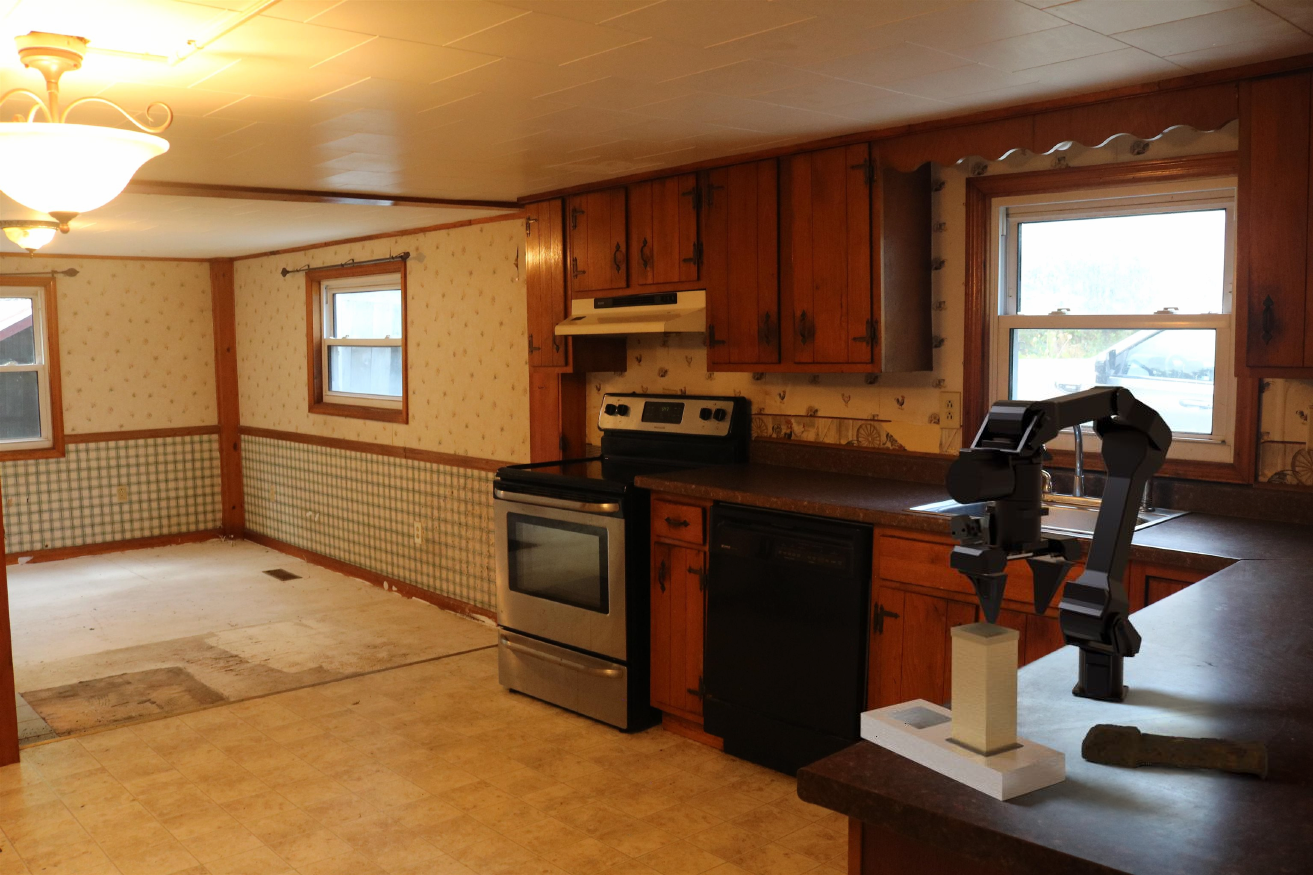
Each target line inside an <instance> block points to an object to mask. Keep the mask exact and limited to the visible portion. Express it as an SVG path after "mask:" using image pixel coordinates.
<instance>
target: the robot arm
mask: <svg viewBox="0 0 1313 875" xmlns="http://www.w3.org/2000/svg"><path fill="white" fill-rule="evenodd" d="M1090 422H1092V431H1093V432H1094V434H1096V436H1097V437H1098V438H1099V439H1100V441H1101V447H1100V448H1101V449H1100V454H1101V457H1102V460H1103V463H1104V466H1105V469H1106V472H1107V476H1106V480H1105V484H1104V488H1103V493H1102V496H1101V502H1100V506H1099V510H1098V513H1097V517H1096V520H1095V521H1096V522H1095V526H1094V530H1093V535H1092V539H1091V542H1090V546H1089V551H1088V554H1087V559H1086V563H1085V567H1084V571H1083V572H1082V574H1081V575H1080V576H1079V577H1078V578H1076V579H1075V581H1073V580H1066V581H1065V584H1064V585H1063V591H1062V596H1061V600H1060V602H1059V604H1058V606H1057V609H1059V611H1058V623H1059V626H1060V630H1061V634H1062V639H1063V643H1064V645H1065V646H1072V647H1075V648H1076V647H1077V648H1078V675H1077V676H1078V681H1077V682H1076V684H1074V687H1073V688H1072V689H1071V694H1072V695H1074V696H1079V697H1086V698H1094V699H1100V700H1105V701H1106V700H1108V701H1114V702H1119V703H1121V702H1124V701H1125V699H1126V697H1127V695H1128V692H1129V690H1130V686H1129V685H1125V684H1124V671H1125V670H1124V666H1125V665H1124V664H1125V662H1124V660H1125V658H1135V657H1136V654H1139V653H1140V650H1141V644H1142V640H1143V637H1142V635H1140V633H1139V632H1138V630H1137V629H1136V628H1135V626H1134V625H1133V624H1132V622H1131V621H1130V619H1129V615H1130V609H1131V604H1130V601H1129V598H1128V595H1127V591H1126V589H1125V587H1124V585H1123V580H1124V577H1125V574H1126V573H1125V572H1126V567H1127V564H1128V560H1129V555H1130V551H1131V548H1132V547H1131V546H1132V544H1133V539H1134V536H1135V530H1136V526H1137V521H1138V518H1139V514H1140V509H1141V505H1142V500H1143V496H1144V493H1145V492H1144V491H1145V488H1146V484H1147V482H1148V481H1149V480H1150V479H1151V478H1152V477H1153V476H1154V475H1155V474H1156V473H1157V472H1158V471H1159V470H1160V469H1161V468H1162V467H1163V466H1164V464H1165V460H1166V458H1167V454H1168V451H1169V450H1170V447H1171V445H1172V442H1173V431H1172V429H1171V428H1170V426H1169V425H1168V424H1167V422H1166V421H1165V420H1164V418H1163V416H1161V414H1160V413H1159V411H1157V410H1156V409H1154V408H1153V407H1151V406H1149V405H1147V404H1145V403H1144V402H1142V401H1141V400H1140V399H1139V398H1136V397H1135V396H1134V394H1133V393H1132V392H1131V390H1130V389H1128V388H1125V387H1123V386H1122V385H1117V386H1116V385H1095V386H1093V387H1090V388H1088V389H1085V390H1081V391H1077V392H1071V393H1069V394H1064V395H1059V396H1055V397H1051V398H1050V397H1049V398H1047V399H1043V400H1025V399H1023V400H1020V399H1018V400H1017V399H999V400H998V399H997V400H995V401H994V402H993V403H992V404H991V405H990V410H989V411H988V413H987V415H986V417H985V418H984V421H983V423H982V424H981V427H979V428H980V429H979V431H978V432H977V434H976V436H975V438H974V440H973V442H972V444H971V446H970V448H959V450H958V458H957V459H955V460H953V462H952V463H951V464H950V465H949V468H948V469H947V473H946V474H945V480H944V481H945V487H946V490H947V492H948V494H949V496H950V498H951V499H952V500H954V501H955V502H956V503H958V504H960V505H964V506H965V505H966V506H967V505H975V504H983V503H991V502H992V503H993V504H987V505H986V508H985V509H984V516H983V517H979V518H973V519H972V518H971V516H970V515H969V514H968V513H964V514H958V515H957V514H956V515H954V516H951V517H950V525H949V531H950V536H951V538H952V540H954V541H956V542H957V541H959V542H960V544H958V545H955V546H953V548H952V549H951V550H950V551H949V568H950V569H951V568H952V569H956V571H957V572H958V574H960V575H964V576H965V577H966V578H967V579H968V581H970V582H971V584H972V586H973V588H974V590H975V593H976V595H977V598H978V600H979V604H980V608H981V610H982V613H983V616H984V619H985V622H987V623H991V624H995V625H997V624H996V623H997V620H998V619H999V618H998V617H999V614H1000V611H1001V607H1002V602H1003V597H1004V594H1005V589H1006V585H1007V581H1008V576H1009V574H1008V573H1004V571H1005V569H1006V568H1007V567H1008V562H1014V561H1018V560H1019V561H1020V560H1025V562H1026V563H1027V565H1028V567H1029V568H1030V569H1031V571H1032V582H1033V583H1032V586H1033V603H1034V604H1033V605H1034V610H1035V611H1034V612H1035V614H1036V615H1039V616H1043V615H1045V614H1046V612H1047V610H1048V608H1049V606H1050V605H1051V603H1052V600H1053V599H1054V597H1055V596H1056V593H1057V592H1058V590H1059V588H1060V586H1061V585H1062V584H1063V581H1064V580H1065V579H1066V577H1067V575H1068V574H1069V572H1070V571H1071V569H1072V568H1074V567H1076V562H1075V561H1079V560H1083V544H1082V543H1081V541H1080V540H1079V539H1078V538H1077V537H1075V536H1070V535H1063V534H1057V533H1051V532H1045V533H1042V517H1045V516H1046V517H1047V516H1050V507H1048V506H1042V505H1043V504H1042V503H1043V500H1042V498H1043V463H1048V462H1053V461H1054V456H1053V455H1052V454H1051V453H1050V452H1049V451H1047V449H1045V448H1044V446H1043V445H1046V444H1047V443H1049V442H1051V441H1053V440H1054V439H1056V438H1058V436H1059V434H1060V431H1062V430H1064V429H1067V428H1071V427H1075V426H1079V425H1083V424H1086V423H1090Z"/></svg>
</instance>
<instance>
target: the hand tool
mask: <svg viewBox="0 0 1313 875" xmlns="http://www.w3.org/2000/svg"><path fill="white" fill-rule="evenodd" d="M1080 749H1081V750H1080V753H1081V755H1080V756H1081V758H1082V759H1084V760H1086V761H1088V762H1089V761H1090V762H1092V763H1098V764H1102V765H1108V766H1109V765H1110V766H1116V767H1124V768H1129V769H1130V768H1131V769H1136V768H1138V767H1139V766H1142V765H1143V766H1144V765H1153V766H1166V767H1177V768H1178V767H1181V768H1182V767H1183V768H1192V769H1201V770H1209V771H1210V770H1211V771H1212V770H1213V771H1223V772H1229V773H1236V774H1240V773H1241V774H1242V773H1247V774H1255V775H1257V776H1258V778H1260V779H1263V780H1265V779H1266V776H1267V775H1268V765H1269V764H1268V763H1269V762H1268V760H1269V759H1268V758H1269V756H1268V749H1267V746H1266V745H1265V744H1264V741H1263V740H1261V739H1258V738H1255V739H1249V740H1233V739H1229V738H1228V739H1227V738H1216V737H1188V736H1174V735H1163V734H1155V733H1147V732H1141V730H1140V729H1139V728H1138V726H1135V725H1134V726H1133V725H1119V724H1112V723H1104V724H1103V723H1097V724H1095V725H1093V726H1091V727H1090V728H1089V730H1088V732H1087V733H1086V735H1085V736H1084V739H1082V741H1081V748H1080Z"/></svg>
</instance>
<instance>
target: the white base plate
mask: <svg viewBox="0 0 1313 875" xmlns="http://www.w3.org/2000/svg"><path fill="white" fill-rule="evenodd" d="M951 717H952V709H948V708H946V707H944V706H941V705H938V704H936V703H933V702H930V701H927V700H925V699H922V698H917V699H913V700H909V701H905V702H902V703H898V704H893V705H889V706H884V707H881V708H877V709H873V710H872V709H871V710H868V711H864V712H861V713H860V737H861V738H863V739H865V740H867V741H869V742H872V743H874V744H876V745H879V746H880V747H882V748H885V749H887V750H890V751H892V752H893V753H896V754H898V755H900V756H902V757H904V758H907V759H909V760H911V761H914V762H916V763H918V764H919V765H922V766H924V767H926V768H929V769H931V770H933V771H935V772H938V773H940V774H941V775H944V776H946V777H948V778H950V779H953V780H955V781H958V782H960V783H961V784H963V785H966V786H968V787H970V788H973V789H974V790H977V791H979V792H981V793H983V794H986V795H988V796H990V797H993V798H994V799H997V800H999V801H1001V802H1003V801H1006V800H1010V799H1012V798H1016V797H1019V796H1022V795H1025V794H1028V793H1030V792H1031V793H1032V792H1034V791H1037V790H1039V789H1043V788H1046V787H1049V786H1052V785H1055V784H1059V783H1062V782H1064V781H1066V753H1065V752H1061V751H1059V750H1056V749H1054V748H1052V747H1048V746H1046V745H1043V744H1041V743H1038V742H1035V741H1033V740H1030V739H1027V738H1024V737H1023V736H1019V735H1017V745H1014V746H1010V747H1007V748H1003V749H1000V750H997V751H993V752H990V753H986V754H985V753H983V752H980V751H978V750H975V749H973V748H970V747H968V746H966V745H963V744H961V743H958V742H956V741H953V740H951ZM905 723H906V724H905ZM876 736H877V737H876Z"/></svg>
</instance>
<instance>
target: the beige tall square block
mask: <svg viewBox="0 0 1313 875" xmlns="http://www.w3.org/2000/svg"><path fill="white" fill-rule="evenodd" d="M950 636H951V711H952V717H951V740H953V741H956V742H958V743H961V744H963V745H966V746H968V747H970V748H973V749H975V750H978V751H980V752H983V753H985V754H986V753H990V752H993V751H997V750H1000V749H1003V748H1007V747H1010V746H1014V745H1017V736H1018V666H1019V664H1018V663H1019V662H1018V661H1019V658H1018V657H1019V654H1018V651H1019V650H1018V649H1019V646H1018V645H1019V639H1020V631H1019V630H1017V629H1013V628H1009V627H1005V626H1002V625H998V624H991V623H987V622H986V621H984V620H983V621H982V620H981V621H978V622H973V623H969V624H968V623H967V624H963V625H958V626H951V627H950Z"/></svg>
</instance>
